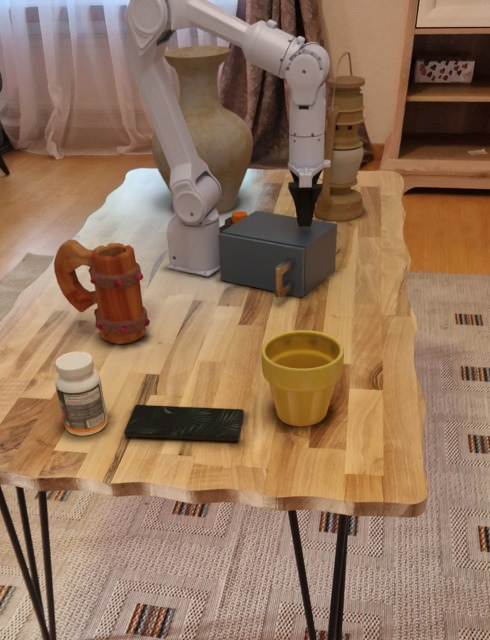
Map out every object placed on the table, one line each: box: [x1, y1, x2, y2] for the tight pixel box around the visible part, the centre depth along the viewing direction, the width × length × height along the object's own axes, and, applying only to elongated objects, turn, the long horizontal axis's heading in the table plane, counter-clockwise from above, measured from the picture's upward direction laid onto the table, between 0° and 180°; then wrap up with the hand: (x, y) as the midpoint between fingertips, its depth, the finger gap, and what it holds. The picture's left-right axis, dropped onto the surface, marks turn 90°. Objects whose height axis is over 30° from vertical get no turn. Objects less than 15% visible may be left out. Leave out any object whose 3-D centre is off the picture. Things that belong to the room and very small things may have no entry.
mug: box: [53, 238, 151, 345], centre depth 113 cm, size 15×8×15 cm, turn 71°
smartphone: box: [123, 404, 245, 442], centre depth 96 cm, size 7×1×15 cm
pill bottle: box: [54, 350, 108, 437], centre depth 95 cm, size 6×6×10 cm
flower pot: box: [260, 329, 345, 427], centre depth 94 cm, size 10×10×10 cm
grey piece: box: [218, 233, 305, 299], centre depth 125 cm, size 6×17×8 cm, turn 58°
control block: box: [219, 216, 234, 233], centre depth 148 cm, size 9×7×3 cm
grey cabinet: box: [222, 210, 338, 297], centre depth 130 cm, size 12×17×9 cm
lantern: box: [314, 50, 366, 222], centre depth 147 cm, size 15×10×30 cm
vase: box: [151, 45, 254, 214], centre depth 155 cm, size 22×22×30 cm
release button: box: [231, 210, 248, 224], centre depth 147 cm, size 3×3×2 cm
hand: (304, 218), depth 126 cm, fingers open, 7 cm apart
